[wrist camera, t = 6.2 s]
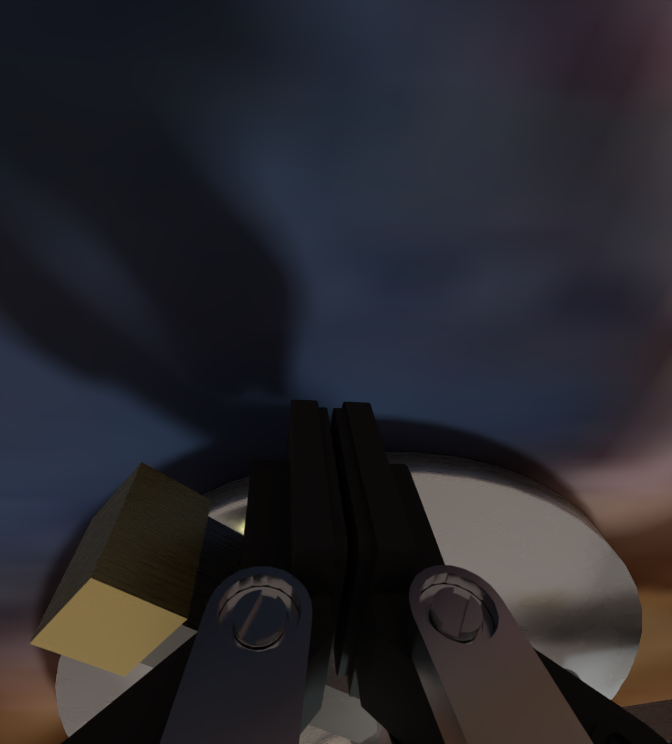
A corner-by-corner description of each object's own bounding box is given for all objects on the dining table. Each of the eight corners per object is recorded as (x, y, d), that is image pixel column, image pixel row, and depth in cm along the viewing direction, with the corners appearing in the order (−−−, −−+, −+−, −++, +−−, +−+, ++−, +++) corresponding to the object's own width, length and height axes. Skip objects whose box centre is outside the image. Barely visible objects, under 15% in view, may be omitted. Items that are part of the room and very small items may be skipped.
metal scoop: (470, 595, 13) (527, 738, 10) (391, 653, 14) (421, 800, 11) (172, 412, 9) (117, 549, 6) (91, 506, 10) (7, 666, 7)
